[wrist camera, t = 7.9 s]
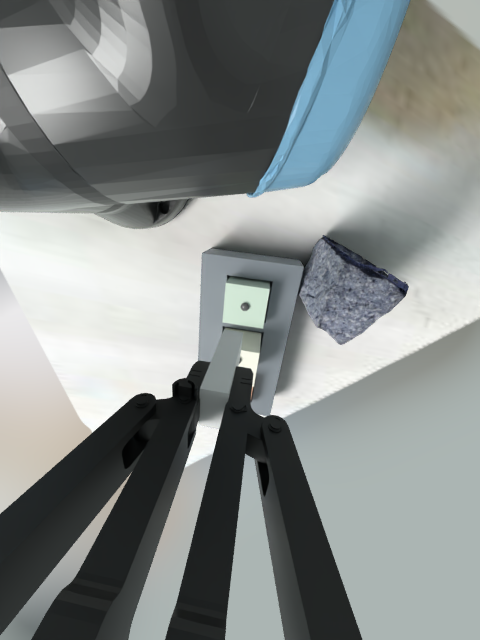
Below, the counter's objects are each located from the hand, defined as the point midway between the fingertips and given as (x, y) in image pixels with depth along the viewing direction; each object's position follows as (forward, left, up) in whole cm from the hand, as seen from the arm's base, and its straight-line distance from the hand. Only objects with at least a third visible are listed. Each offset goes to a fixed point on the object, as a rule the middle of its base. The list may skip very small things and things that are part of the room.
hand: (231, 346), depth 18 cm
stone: (-3, +11, -17) cm, 20 cm away
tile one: (0, 0, -15) cm, 15 cm away
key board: (+7, 0, -16) cm, 18 cm away
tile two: (+7, 0, -12) cm, 14 cm away
